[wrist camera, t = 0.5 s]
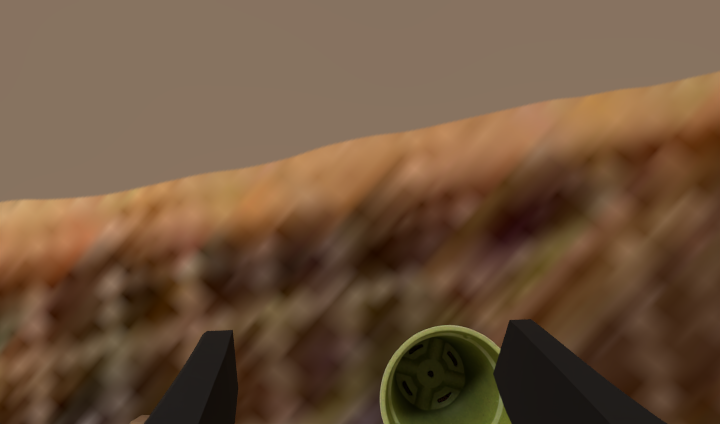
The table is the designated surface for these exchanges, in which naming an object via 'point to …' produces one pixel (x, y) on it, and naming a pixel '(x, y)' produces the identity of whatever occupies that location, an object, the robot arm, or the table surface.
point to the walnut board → (140, 419)
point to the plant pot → (443, 380)
